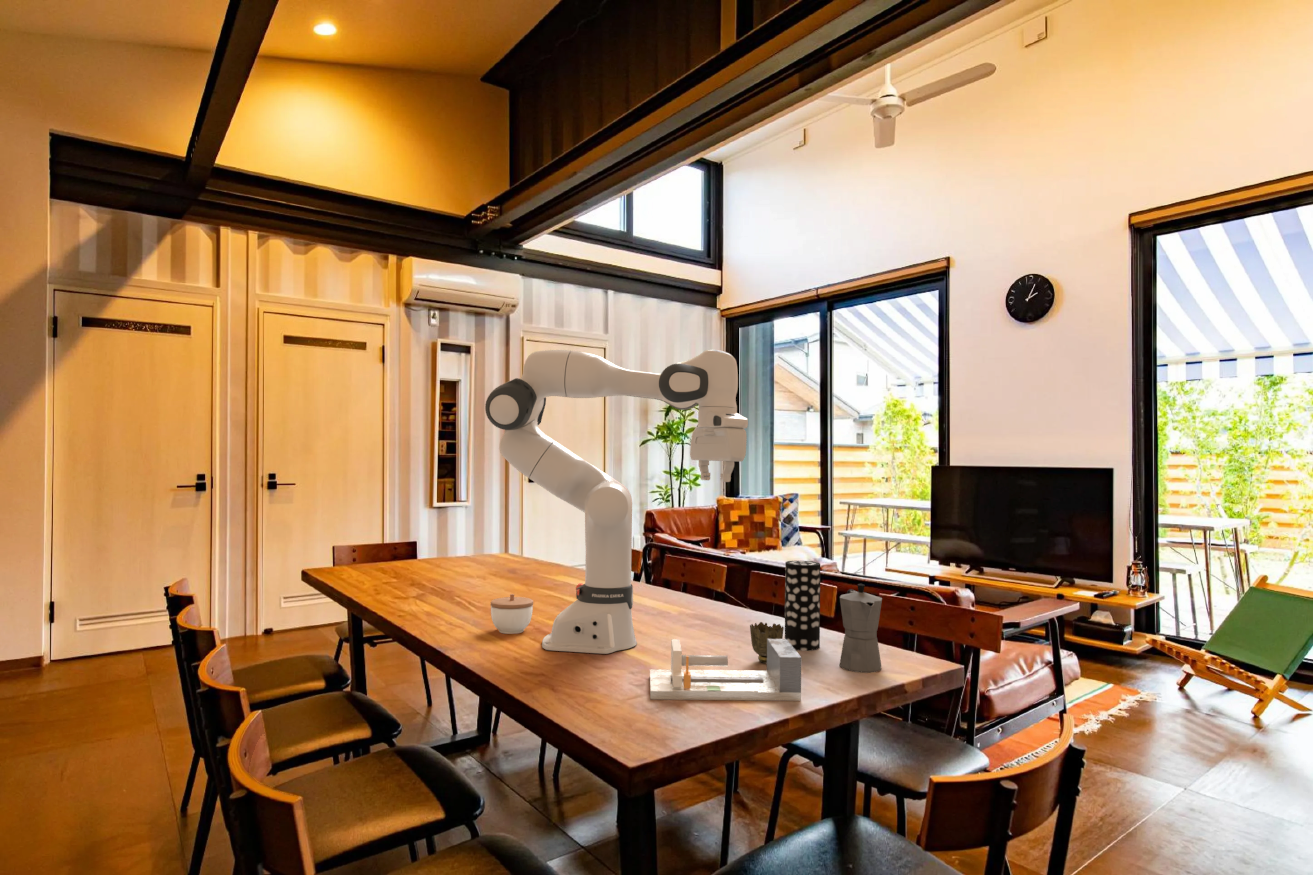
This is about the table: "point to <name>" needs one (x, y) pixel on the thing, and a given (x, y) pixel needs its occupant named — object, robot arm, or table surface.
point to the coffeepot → (860, 631)
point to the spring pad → (690, 661)
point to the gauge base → (738, 680)
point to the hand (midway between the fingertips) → (715, 481)
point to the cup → (764, 638)
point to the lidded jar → (511, 614)
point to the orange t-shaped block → (687, 675)
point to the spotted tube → (802, 604)
